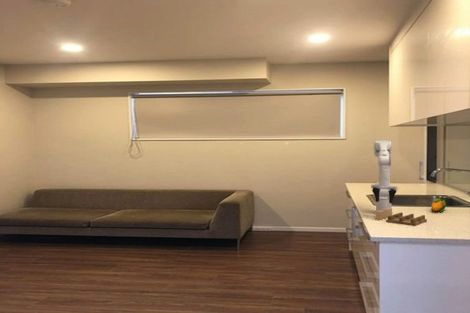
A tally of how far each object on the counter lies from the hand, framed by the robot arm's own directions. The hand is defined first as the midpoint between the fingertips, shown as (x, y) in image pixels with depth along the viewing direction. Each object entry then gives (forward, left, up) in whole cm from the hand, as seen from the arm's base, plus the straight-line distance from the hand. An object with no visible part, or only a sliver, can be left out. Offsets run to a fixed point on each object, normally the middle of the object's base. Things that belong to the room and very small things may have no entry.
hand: (384, 202), depth 238 cm
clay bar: (0, 0, -9) cm, 9 cm away
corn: (-43, +13, -9) cm, 46 cm away
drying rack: (+1, +13, -9) cm, 16 cm away
